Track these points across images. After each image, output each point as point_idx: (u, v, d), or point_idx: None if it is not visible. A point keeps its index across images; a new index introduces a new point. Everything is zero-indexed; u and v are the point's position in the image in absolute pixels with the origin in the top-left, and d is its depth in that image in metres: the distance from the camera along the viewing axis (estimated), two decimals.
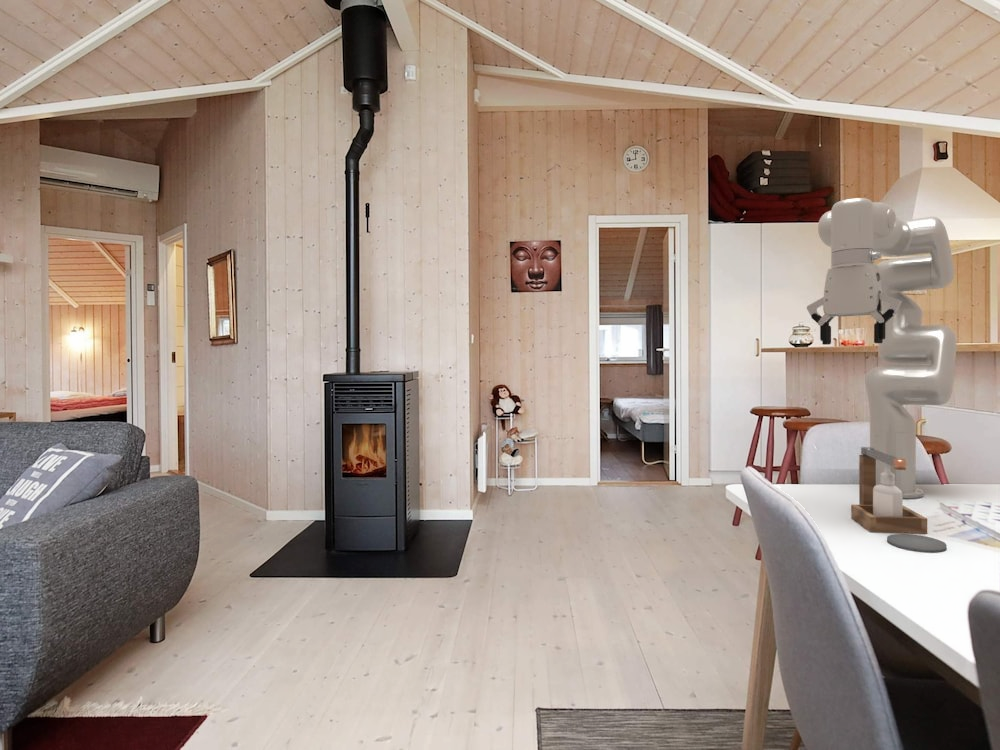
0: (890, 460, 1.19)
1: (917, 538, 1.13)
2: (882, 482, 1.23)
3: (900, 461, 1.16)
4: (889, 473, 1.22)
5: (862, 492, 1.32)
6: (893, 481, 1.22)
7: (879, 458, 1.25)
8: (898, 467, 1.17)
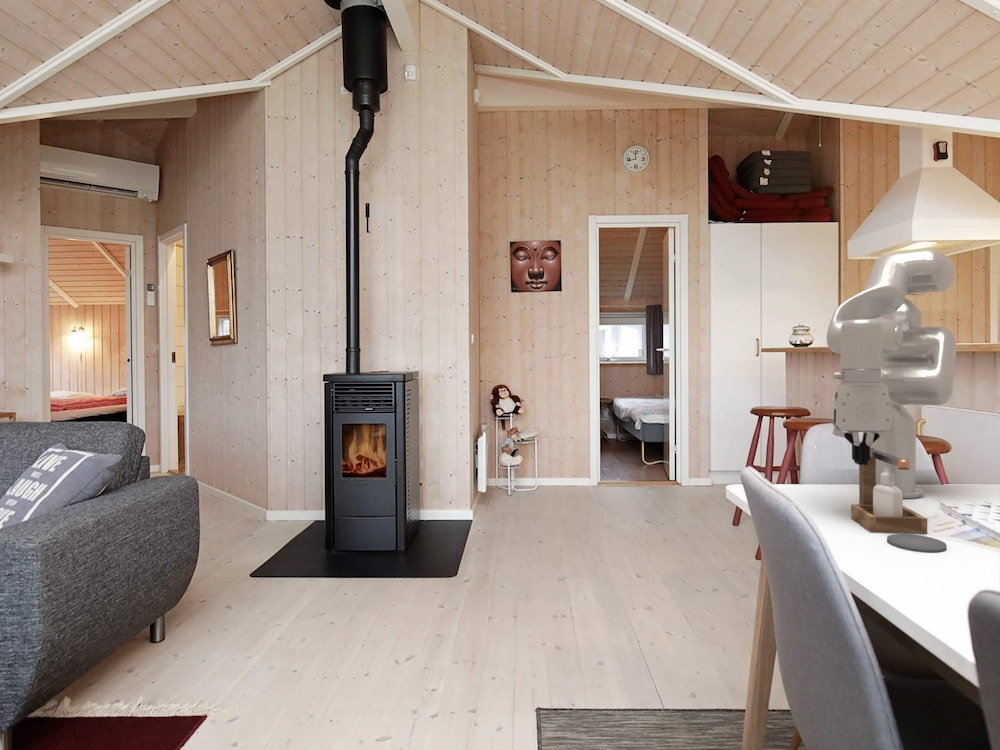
0: (893, 460, 1.19)
1: (917, 538, 1.13)
2: (882, 482, 1.23)
3: (904, 461, 1.16)
4: (889, 473, 1.22)
5: (862, 492, 1.32)
6: (893, 481, 1.22)
7: (881, 458, 1.24)
8: (902, 467, 1.16)
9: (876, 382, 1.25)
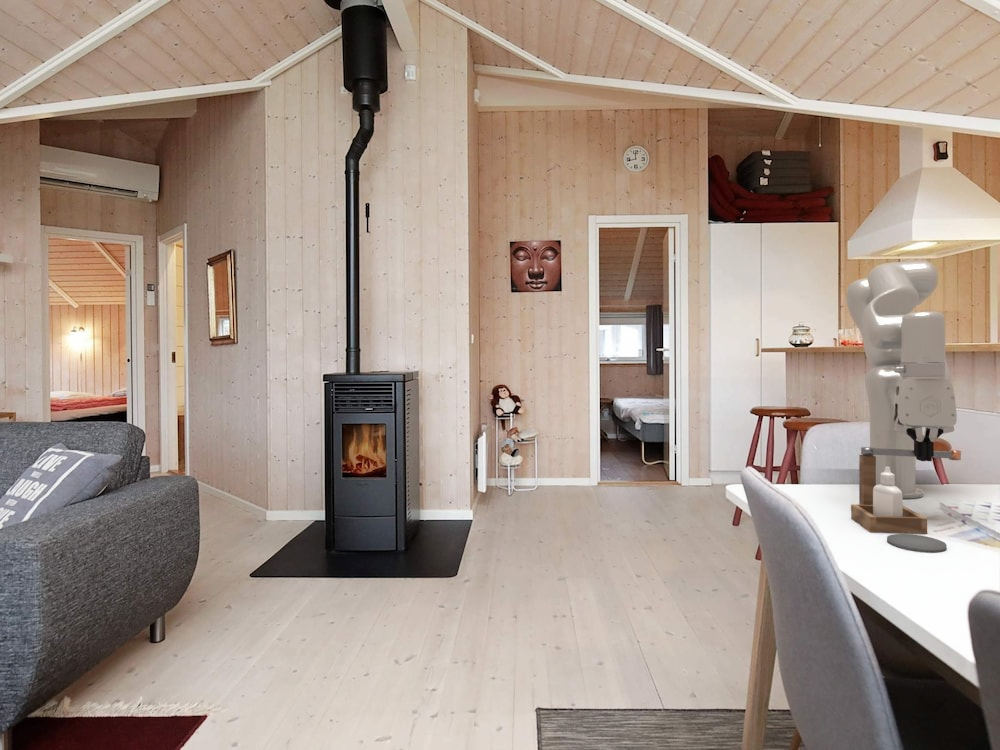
0: (942, 453, 1.26)
1: (917, 538, 1.13)
2: (882, 482, 1.23)
3: (960, 452, 1.25)
4: (889, 473, 1.22)
5: (862, 492, 1.32)
6: (893, 481, 1.22)
7: (913, 454, 1.28)
8: (960, 458, 1.25)
9: (940, 376, 1.22)
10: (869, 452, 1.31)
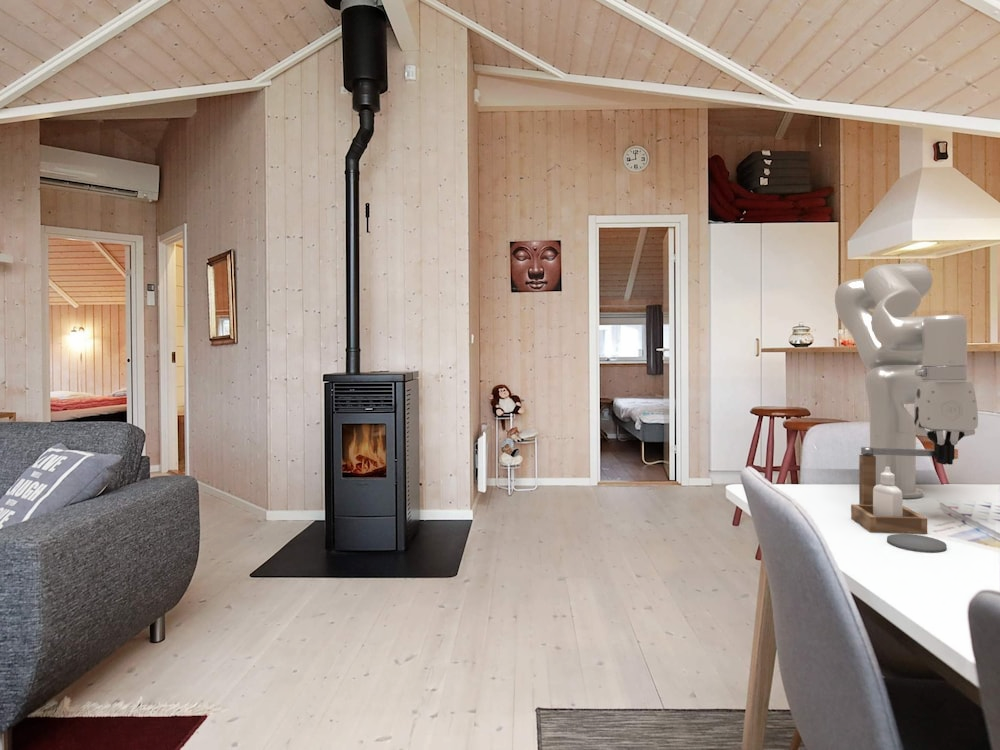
0: None
1: (917, 538, 1.13)
2: (882, 482, 1.23)
3: None
4: (889, 473, 1.22)
5: (862, 492, 1.32)
6: (893, 481, 1.22)
7: (912, 453, 1.29)
8: (957, 456, 1.26)
9: (962, 379, 1.22)
10: (870, 452, 1.31)
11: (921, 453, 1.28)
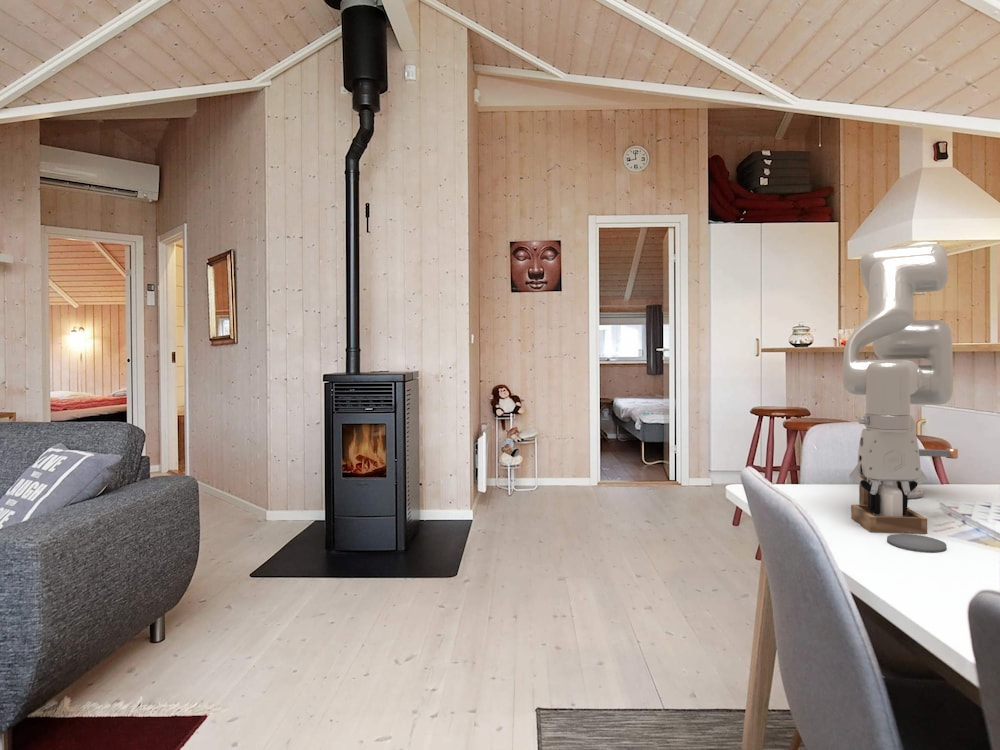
0: (941, 452, 1.27)
1: (917, 538, 1.13)
2: (882, 482, 1.23)
3: (957, 450, 1.27)
4: None
5: (862, 492, 1.32)
6: (893, 481, 1.22)
7: None
8: (957, 456, 1.27)
9: (905, 429, 1.19)
10: None
11: (921, 453, 1.28)
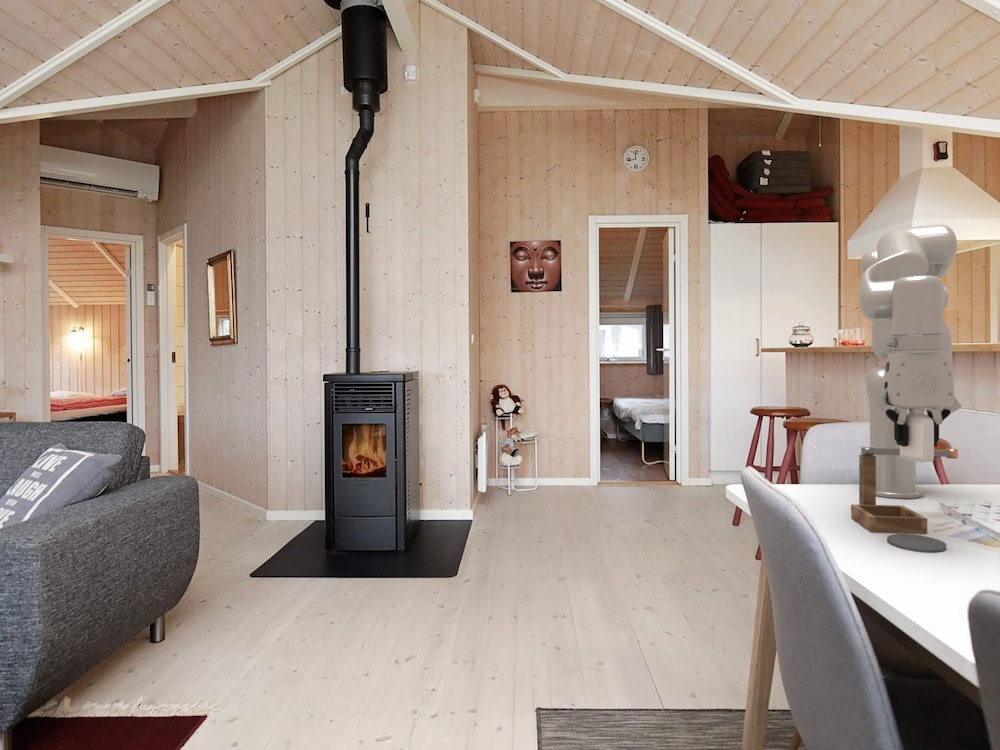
0: (941, 452, 1.27)
1: (917, 538, 1.13)
2: (911, 411, 1.10)
3: (957, 450, 1.27)
4: None
5: (862, 492, 1.32)
6: (923, 409, 1.09)
7: None
8: (957, 456, 1.27)
9: (937, 349, 1.07)
10: (870, 452, 1.31)
11: None
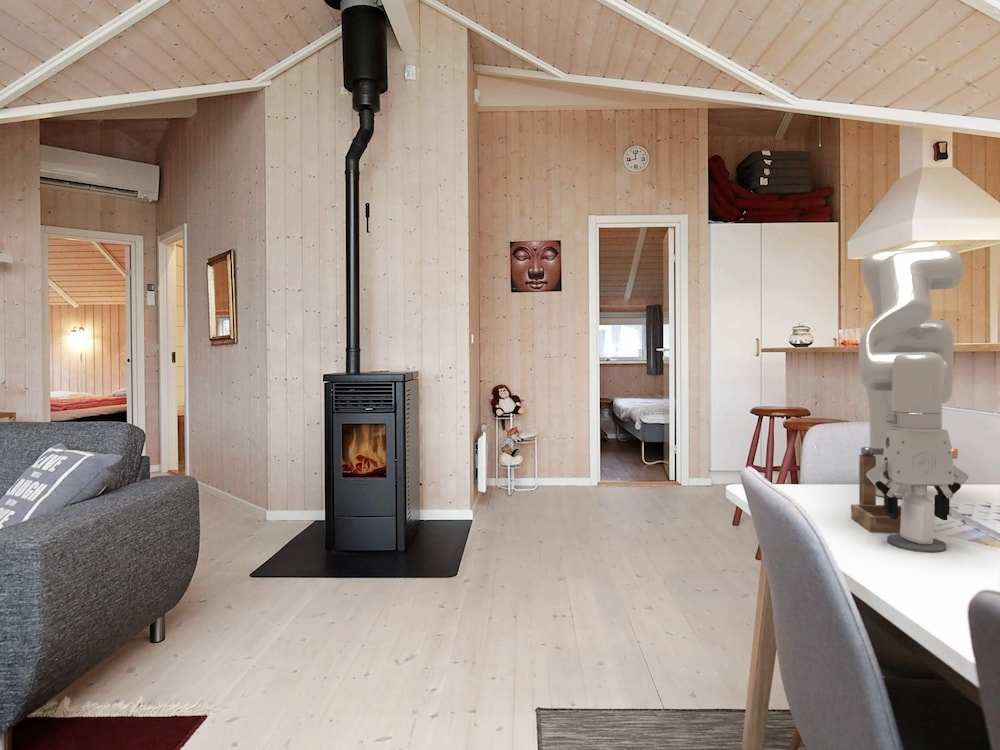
0: None
1: None
2: (912, 492, 1.11)
3: (957, 450, 1.27)
4: None
5: (862, 492, 1.32)
6: (925, 491, 1.10)
7: None
8: (957, 456, 1.27)
9: (936, 428, 1.07)
10: (870, 452, 1.31)
11: None
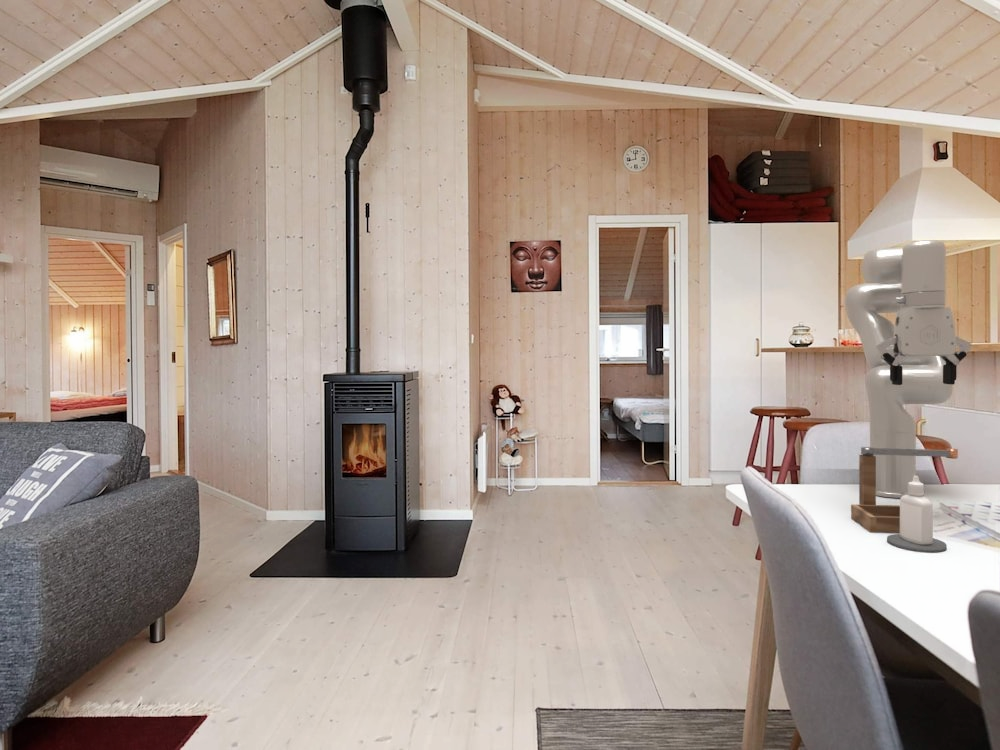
0: (941, 452, 1.27)
1: None
2: (910, 492, 1.11)
3: (957, 450, 1.27)
4: (918, 483, 1.10)
5: (862, 492, 1.32)
6: (922, 491, 1.10)
7: (912, 453, 1.29)
8: (957, 456, 1.27)
9: (940, 304, 1.22)
10: (870, 452, 1.31)
11: (921, 453, 1.28)
